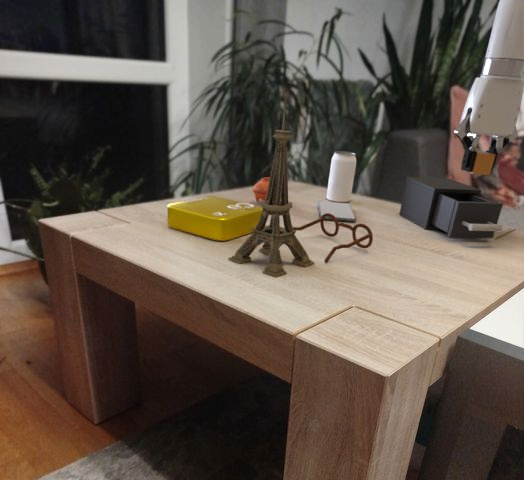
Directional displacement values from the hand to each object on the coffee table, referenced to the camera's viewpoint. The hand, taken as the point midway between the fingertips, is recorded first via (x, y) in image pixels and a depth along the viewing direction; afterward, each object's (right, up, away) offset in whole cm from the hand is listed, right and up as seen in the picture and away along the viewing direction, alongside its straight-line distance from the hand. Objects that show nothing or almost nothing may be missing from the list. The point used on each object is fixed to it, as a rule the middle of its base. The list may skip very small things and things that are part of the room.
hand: (476, 170), depth 104 cm
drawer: (-1, -11, +6) cm, 13 cm away
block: (0, 0, 0) cm, 0 cm away
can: (-24, +3, +31) cm, 40 cm away
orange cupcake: (-43, -1, +21) cm, 48 cm away
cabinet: (-3, -6, +17) cm, 18 cm away
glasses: (-33, -18, -8) cm, 39 cm away
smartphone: (-27, -4, +17) cm, 32 cm away
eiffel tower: (-43, -22, -18) cm, 52 cm away
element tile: (-54, -12, -2) cm, 56 cm away
